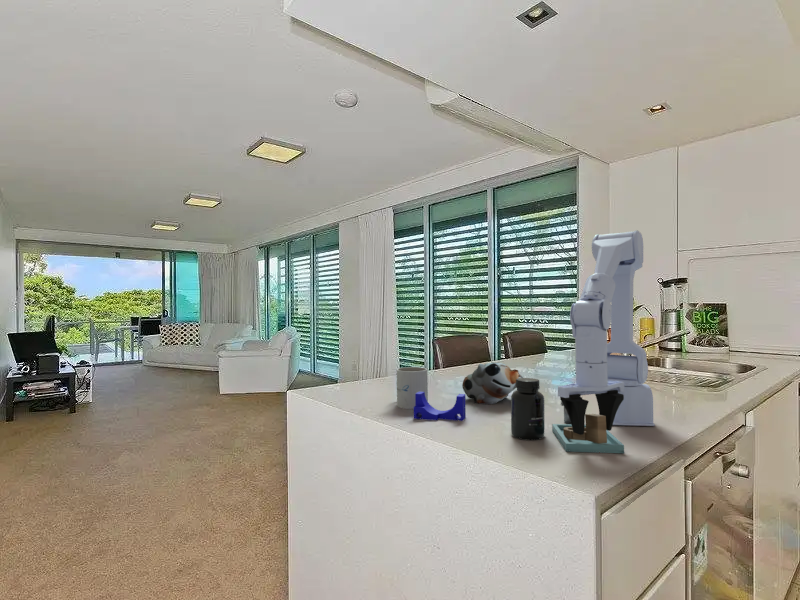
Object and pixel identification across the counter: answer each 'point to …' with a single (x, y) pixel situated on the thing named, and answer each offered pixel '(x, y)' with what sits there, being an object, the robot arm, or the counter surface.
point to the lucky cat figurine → (490, 383)
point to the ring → (590, 429)
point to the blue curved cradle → (429, 413)
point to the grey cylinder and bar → (566, 415)
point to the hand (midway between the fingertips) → (592, 431)
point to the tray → (587, 442)
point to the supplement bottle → (527, 410)
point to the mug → (410, 385)
